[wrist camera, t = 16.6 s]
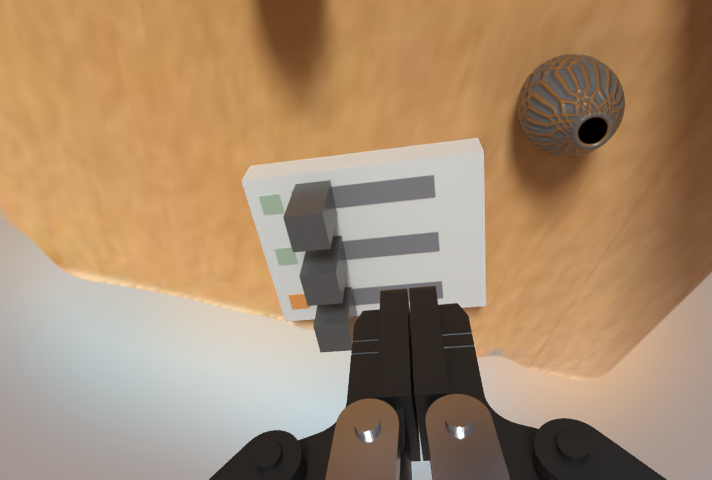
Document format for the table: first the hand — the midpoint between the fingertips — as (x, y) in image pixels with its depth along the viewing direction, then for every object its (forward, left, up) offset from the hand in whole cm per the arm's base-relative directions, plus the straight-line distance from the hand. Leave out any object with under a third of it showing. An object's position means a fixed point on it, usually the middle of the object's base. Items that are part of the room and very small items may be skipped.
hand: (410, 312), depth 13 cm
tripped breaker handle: (+8, +20, -26) cm, 34 cm away
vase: (-12, +4, -29) cm, 32 cm away
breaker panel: (+4, +15, -29) cm, 33 cm away
